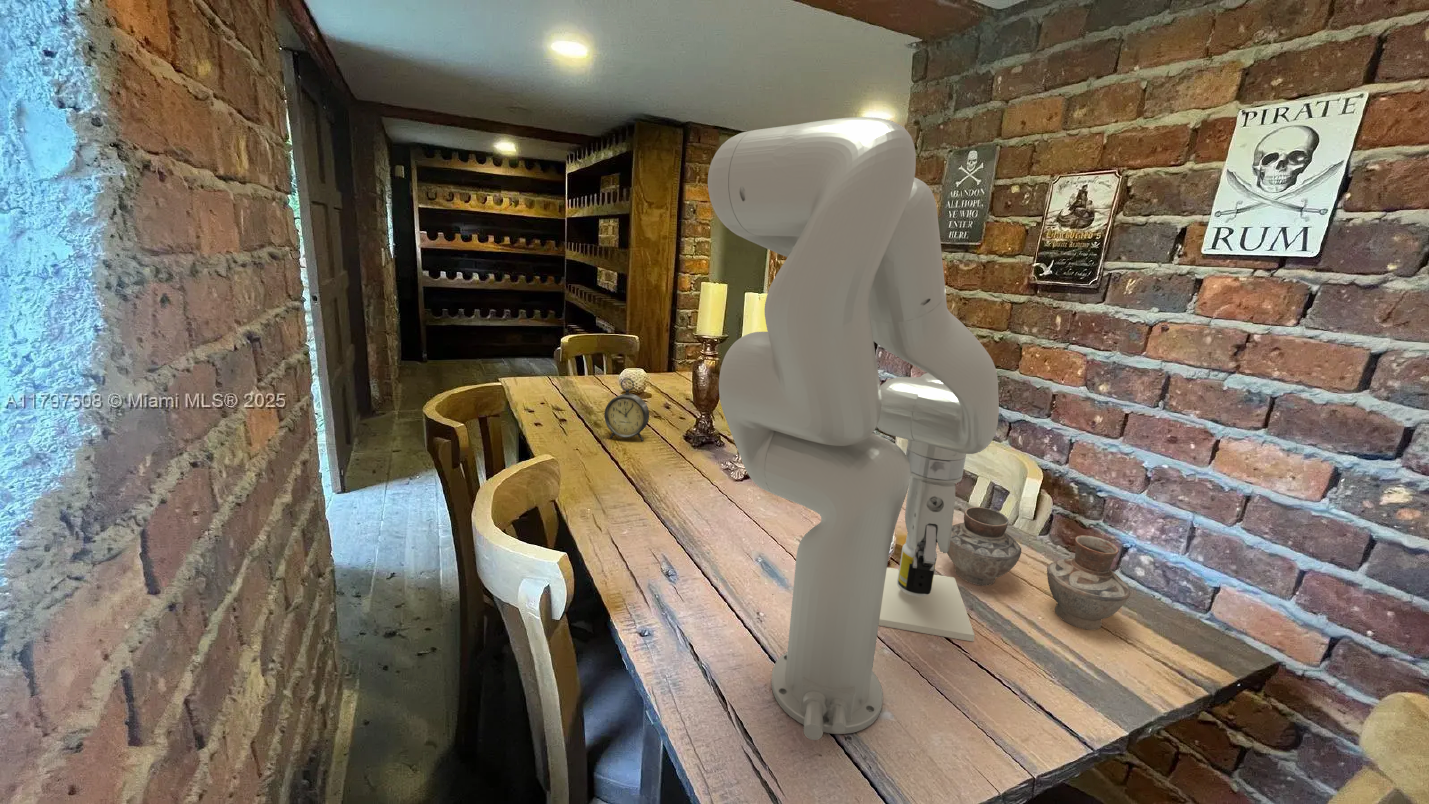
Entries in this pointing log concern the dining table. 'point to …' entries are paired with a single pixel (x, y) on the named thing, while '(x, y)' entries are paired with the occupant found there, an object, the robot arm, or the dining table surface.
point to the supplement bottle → (904, 567)
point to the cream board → (926, 609)
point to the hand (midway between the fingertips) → (915, 579)
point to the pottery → (1073, 582)
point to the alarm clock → (626, 415)
